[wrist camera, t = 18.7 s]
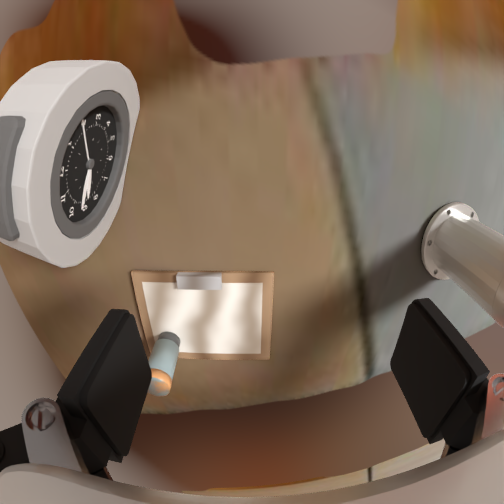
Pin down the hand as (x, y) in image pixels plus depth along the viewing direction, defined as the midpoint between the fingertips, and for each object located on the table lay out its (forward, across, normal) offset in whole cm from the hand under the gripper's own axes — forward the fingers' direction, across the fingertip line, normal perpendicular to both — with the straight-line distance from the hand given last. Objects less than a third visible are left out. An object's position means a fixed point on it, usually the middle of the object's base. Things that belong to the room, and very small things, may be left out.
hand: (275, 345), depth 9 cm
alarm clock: (+27, +19, -6) cm, 34 cm away
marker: (+27, +14, +23) cm, 38 cm away
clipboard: (+28, +8, +19) cm, 34 cm away
